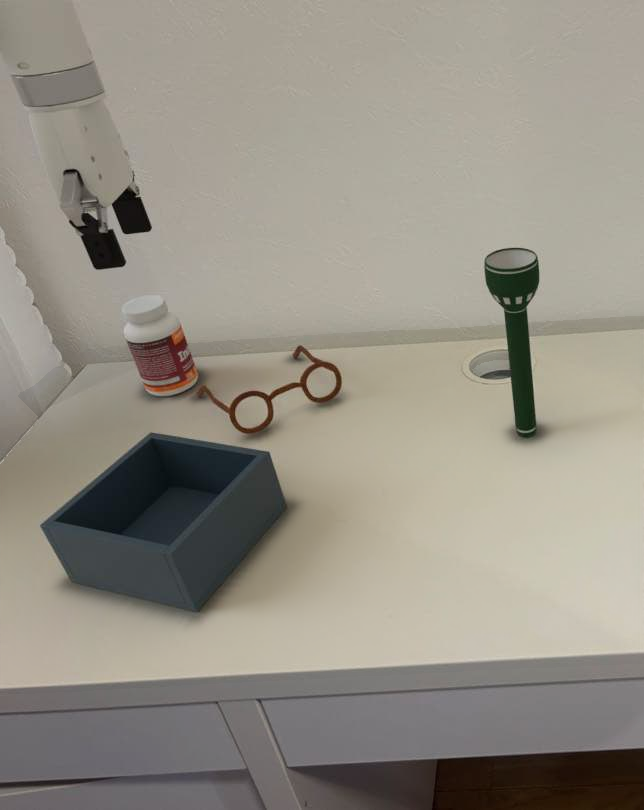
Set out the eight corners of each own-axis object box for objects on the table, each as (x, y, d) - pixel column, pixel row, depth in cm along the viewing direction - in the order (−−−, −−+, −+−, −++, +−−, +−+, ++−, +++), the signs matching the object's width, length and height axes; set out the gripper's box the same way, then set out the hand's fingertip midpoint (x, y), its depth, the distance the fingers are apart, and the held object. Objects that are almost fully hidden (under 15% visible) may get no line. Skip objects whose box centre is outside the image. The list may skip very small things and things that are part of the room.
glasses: (240, 443, 87) (227, 405, 84) (197, 396, 95) (183, 360, 92) (347, 395, 93) (338, 358, 90) (297, 355, 102) (288, 321, 99)
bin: (71, 582, 71) (39, 525, 67) (173, 485, 81) (150, 431, 77) (197, 612, 67) (171, 554, 63) (287, 507, 77) (269, 451, 73)
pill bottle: (202, 389, 96) (172, 308, 90) (147, 403, 94) (114, 321, 88) (197, 366, 101) (169, 287, 95) (145, 379, 99) (113, 299, 93)
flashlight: (547, 416, 87) (534, 244, 76) (553, 443, 83) (541, 266, 72) (500, 421, 87) (481, 250, 76) (504, 449, 83) (485, 272, 71)
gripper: (54, 72, 85) (115, 224, 95) (-19, 113, 71) (61, 287, 81) (126, 65, 86) (179, 216, 95) (67, 104, 71) (136, 278, 81)
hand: (125, 248), depth 88 cm, fingers open, 9 cm apart
